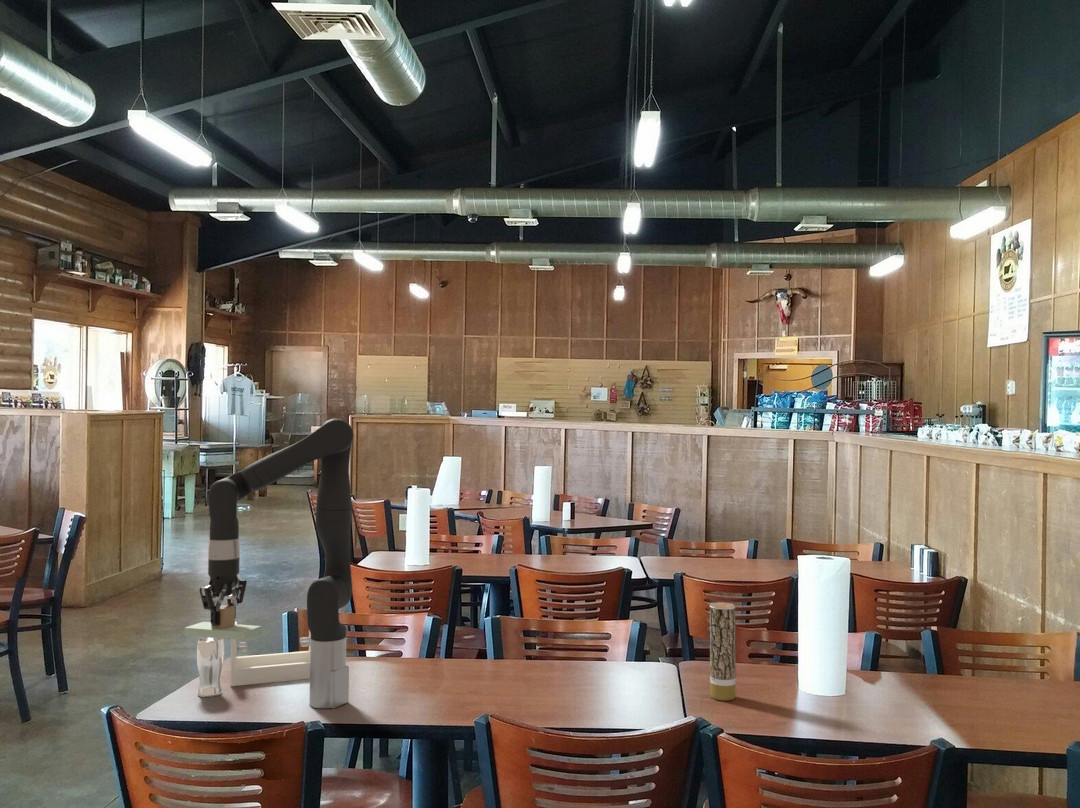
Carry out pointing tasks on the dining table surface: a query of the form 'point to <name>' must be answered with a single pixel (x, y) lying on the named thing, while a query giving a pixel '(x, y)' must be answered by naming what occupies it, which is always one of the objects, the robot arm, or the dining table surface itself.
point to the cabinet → (268, 665)
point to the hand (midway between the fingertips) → (223, 623)
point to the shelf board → (223, 632)
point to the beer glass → (210, 665)
